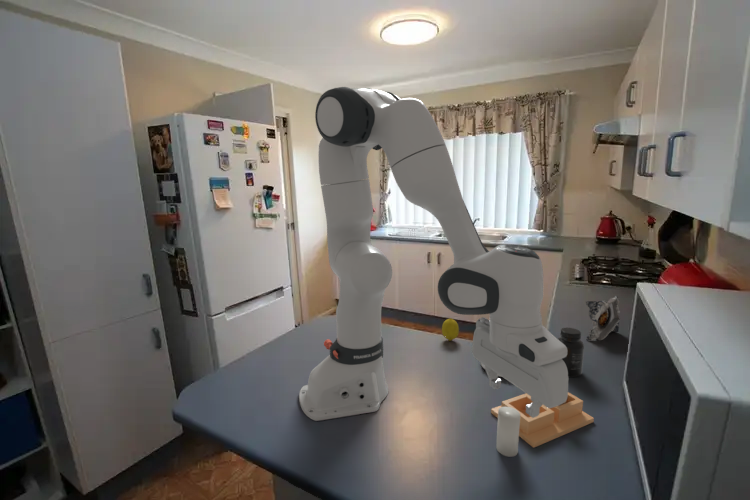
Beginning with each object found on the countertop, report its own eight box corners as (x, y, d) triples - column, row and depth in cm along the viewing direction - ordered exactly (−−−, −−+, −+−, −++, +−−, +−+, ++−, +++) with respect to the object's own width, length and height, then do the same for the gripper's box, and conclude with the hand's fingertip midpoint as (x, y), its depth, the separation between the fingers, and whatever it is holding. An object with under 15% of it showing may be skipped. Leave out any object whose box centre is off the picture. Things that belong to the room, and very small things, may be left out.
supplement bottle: (580, 367, 99) (584, 328, 96) (583, 379, 93) (587, 337, 90) (553, 362, 102) (556, 324, 99) (554, 374, 95) (557, 333, 93)
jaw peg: (506, 459, 66) (509, 422, 65) (491, 445, 70) (493, 409, 68) (522, 452, 68) (524, 416, 66) (507, 439, 72) (509, 404, 70)
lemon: (458, 345, 114) (459, 322, 112) (441, 343, 115) (442, 320, 113) (458, 337, 119) (458, 315, 118) (441, 336, 120) (442, 314, 119)
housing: (533, 447, 69) (536, 407, 67) (490, 412, 80) (492, 376, 78) (593, 422, 76) (597, 384, 75) (546, 393, 87) (549, 359, 85)
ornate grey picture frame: (605, 329, 124) (609, 294, 122) (618, 333, 121) (623, 297, 118) (581, 338, 117) (585, 301, 115) (594, 343, 113) (599, 305, 111)
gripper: (464, 317, 72) (464, 377, 75) (548, 361, 53) (544, 440, 56) (488, 311, 74) (488, 370, 77) (577, 352, 56) (571, 427, 59)
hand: (512, 400), depth 66 cm, fingers open, 8 cm apart
